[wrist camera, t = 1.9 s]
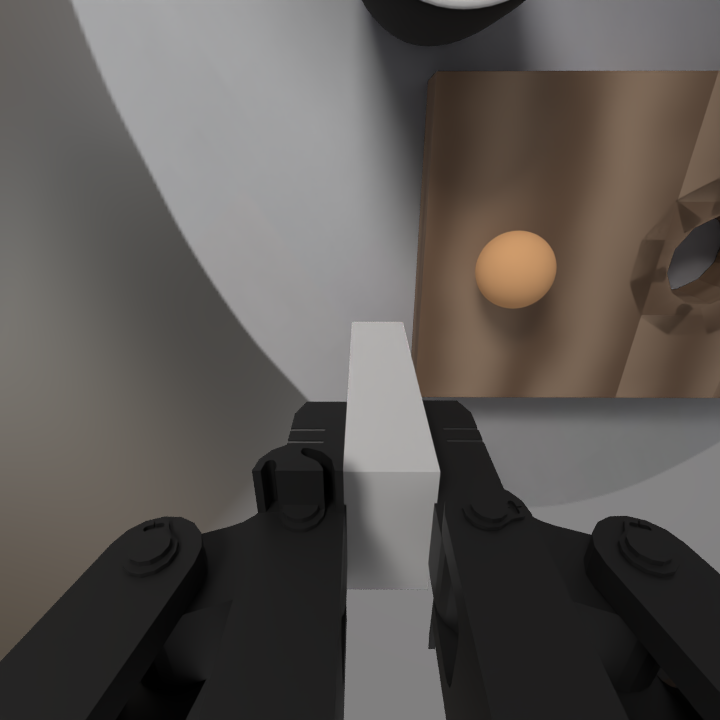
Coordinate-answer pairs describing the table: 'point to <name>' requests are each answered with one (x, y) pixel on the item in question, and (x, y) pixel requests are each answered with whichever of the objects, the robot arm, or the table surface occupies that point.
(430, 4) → the mug
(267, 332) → the table surface
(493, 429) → the table surface
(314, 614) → the robot arm
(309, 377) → the table surface
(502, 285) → the ball
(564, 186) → the wooden board
